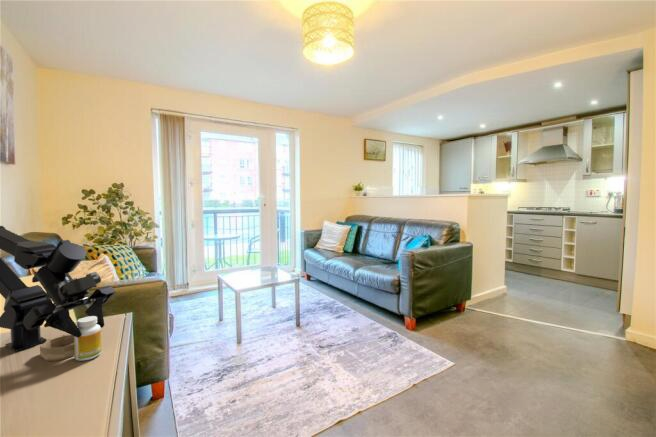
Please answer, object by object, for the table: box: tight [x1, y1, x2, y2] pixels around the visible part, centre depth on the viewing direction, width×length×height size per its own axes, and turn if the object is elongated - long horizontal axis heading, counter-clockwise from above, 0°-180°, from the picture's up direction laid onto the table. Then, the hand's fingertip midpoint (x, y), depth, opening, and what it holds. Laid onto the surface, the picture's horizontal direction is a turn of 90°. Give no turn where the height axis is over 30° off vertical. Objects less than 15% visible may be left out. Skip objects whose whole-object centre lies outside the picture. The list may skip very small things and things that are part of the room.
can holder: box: [39, 333, 75, 362], centre depth 78 cm, size 8×8×3 cm
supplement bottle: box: [73, 315, 102, 362], centre depth 76 cm, size 5×5×10 cm
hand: (91, 331), depth 76 cm, fingers closed on supplement bottle, 5 cm apart
